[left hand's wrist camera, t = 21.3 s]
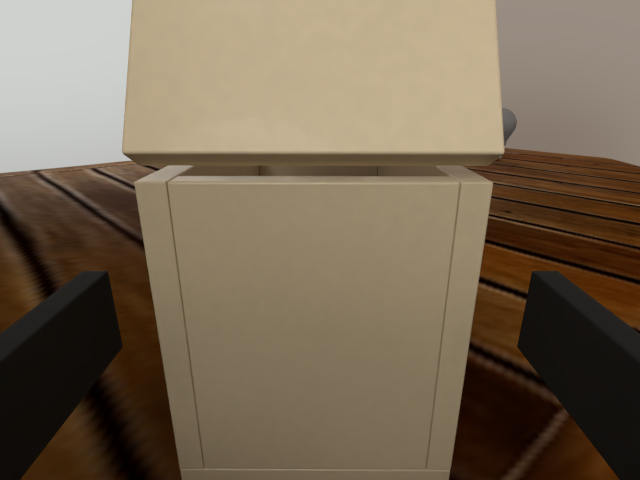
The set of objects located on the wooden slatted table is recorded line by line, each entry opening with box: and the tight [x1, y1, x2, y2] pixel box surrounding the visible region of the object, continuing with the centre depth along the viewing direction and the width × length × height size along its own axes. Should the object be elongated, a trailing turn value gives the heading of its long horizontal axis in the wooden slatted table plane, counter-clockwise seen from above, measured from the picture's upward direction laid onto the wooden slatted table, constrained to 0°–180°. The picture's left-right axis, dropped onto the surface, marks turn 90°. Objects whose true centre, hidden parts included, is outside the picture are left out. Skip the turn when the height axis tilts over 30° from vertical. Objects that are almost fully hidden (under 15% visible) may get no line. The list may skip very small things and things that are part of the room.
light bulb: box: [498, 108, 517, 159], centre depth 82 cm, size 6×6×10 cm
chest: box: [134, 165, 493, 480], centre depth 20 cm, size 17×10×11 cm, turn 0°
